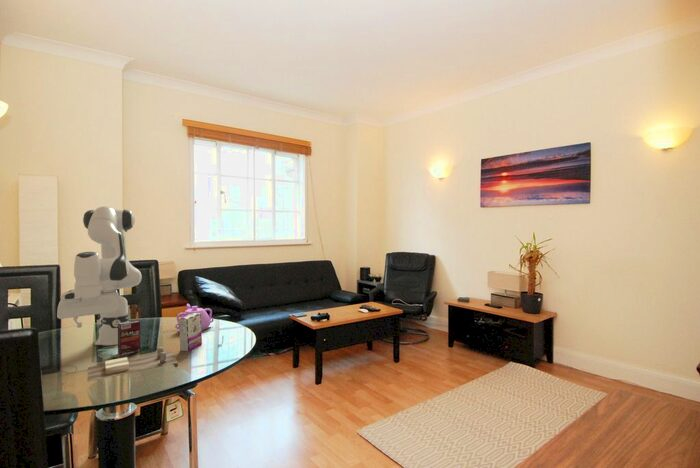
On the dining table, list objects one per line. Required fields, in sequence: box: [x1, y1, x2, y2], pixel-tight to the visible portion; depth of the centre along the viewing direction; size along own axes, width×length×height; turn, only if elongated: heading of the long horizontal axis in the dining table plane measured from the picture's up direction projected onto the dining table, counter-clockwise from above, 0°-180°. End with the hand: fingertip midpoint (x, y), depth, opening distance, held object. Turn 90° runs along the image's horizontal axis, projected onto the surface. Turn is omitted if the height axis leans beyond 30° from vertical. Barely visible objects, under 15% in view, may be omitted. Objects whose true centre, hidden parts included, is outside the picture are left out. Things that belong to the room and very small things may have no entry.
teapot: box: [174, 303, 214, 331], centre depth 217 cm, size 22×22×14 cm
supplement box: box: [117, 319, 141, 356], centre depth 173 cm, size 9×5×16 cm, turn 136°
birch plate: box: [104, 356, 129, 374], centre depth 153 cm, size 10×8×2 cm
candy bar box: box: [178, 313, 203, 352], centre depth 182 cm, size 11×5×16 cm, turn 168°
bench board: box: [87, 346, 179, 383], centre depth 156 cm, size 18×32×6 cm, turn 125°
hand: (89, 325), depth 147 cm, fingers open, 5 cm apart
